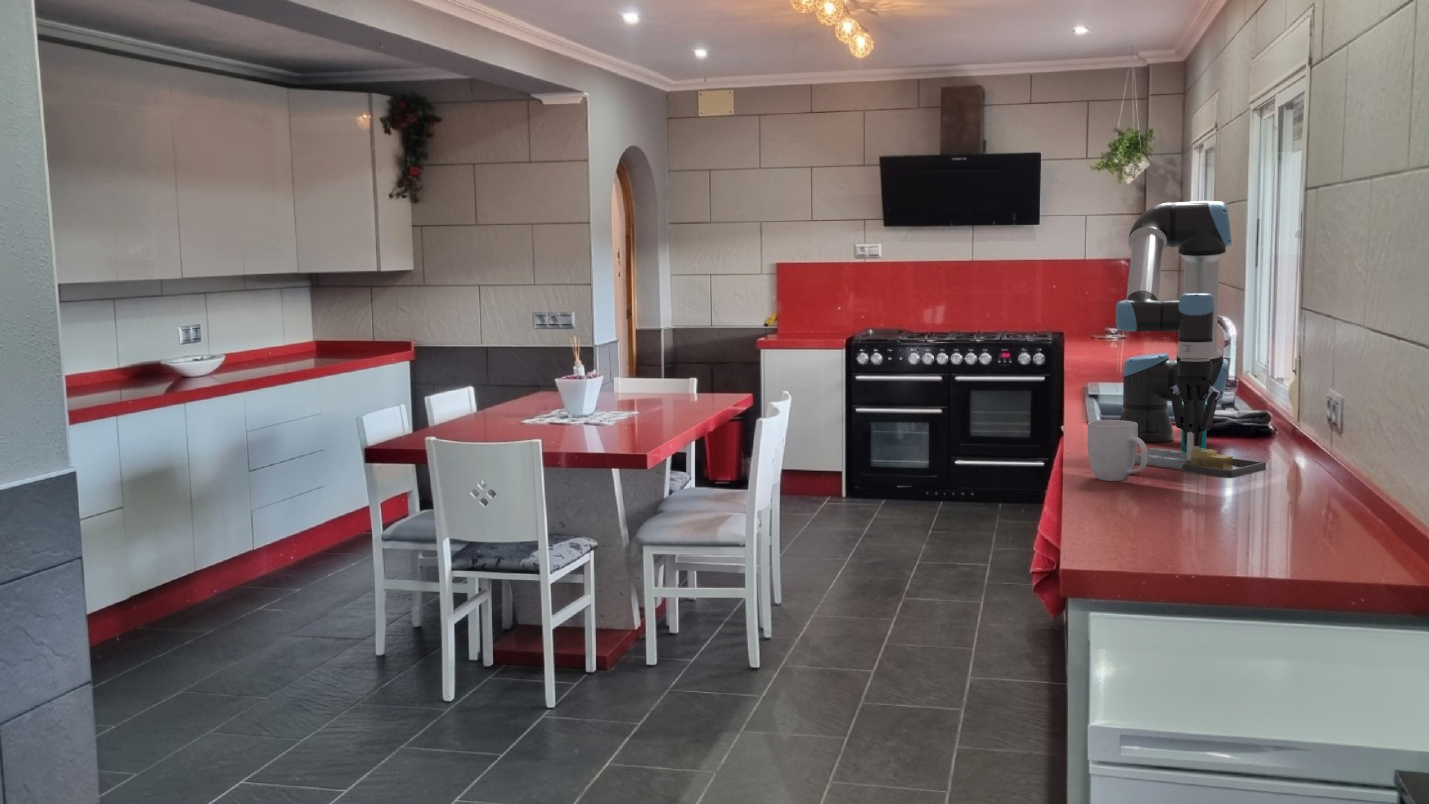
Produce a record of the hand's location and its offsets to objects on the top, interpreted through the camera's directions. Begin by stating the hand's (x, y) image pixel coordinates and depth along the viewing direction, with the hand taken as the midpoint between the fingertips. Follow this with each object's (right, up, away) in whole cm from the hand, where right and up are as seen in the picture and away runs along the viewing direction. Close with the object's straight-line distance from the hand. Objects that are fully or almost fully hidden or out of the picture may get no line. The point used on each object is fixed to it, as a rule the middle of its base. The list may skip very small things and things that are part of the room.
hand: (1192, 459), depth 289 cm
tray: (+5, -4, -6) cm, 8 cm away
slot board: (-4, -2, +5) cm, 7 cm away
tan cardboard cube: (+4, -3, -5) cm, 7 cm away
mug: (-20, -5, -6) cm, 21 cm away
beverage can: (+6, -1, +15) cm, 17 cm away
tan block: (+2, -2, -2) cm, 3 cm away
